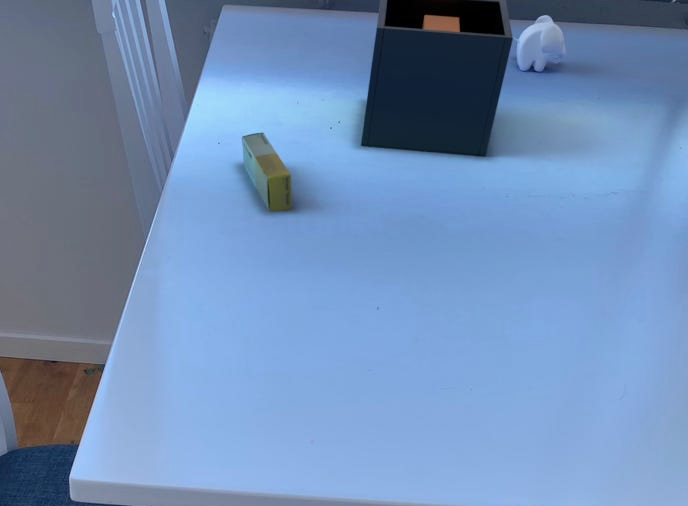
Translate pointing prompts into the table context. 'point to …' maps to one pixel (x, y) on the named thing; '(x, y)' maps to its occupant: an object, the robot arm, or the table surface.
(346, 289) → the table surface
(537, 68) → the elephant figurine
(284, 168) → the medication box
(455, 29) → the block
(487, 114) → the trash can
